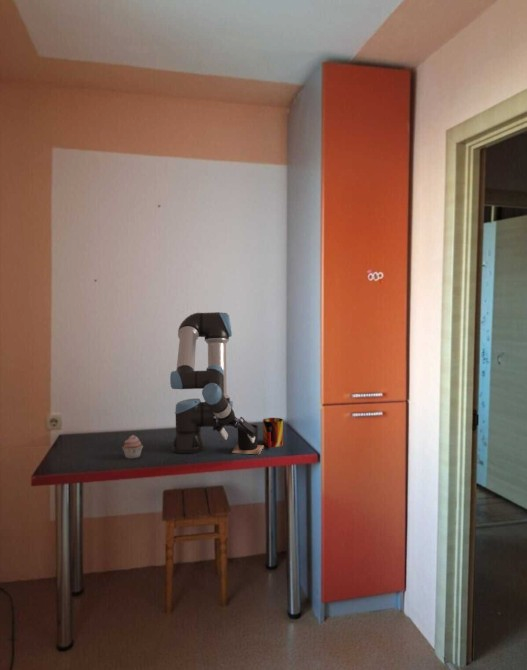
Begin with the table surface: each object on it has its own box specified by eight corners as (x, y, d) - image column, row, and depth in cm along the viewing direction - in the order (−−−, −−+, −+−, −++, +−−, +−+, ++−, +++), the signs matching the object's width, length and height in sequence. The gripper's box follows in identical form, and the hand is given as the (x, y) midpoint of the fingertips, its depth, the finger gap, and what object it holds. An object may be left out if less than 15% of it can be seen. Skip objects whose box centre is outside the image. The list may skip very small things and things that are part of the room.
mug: (268, 450, 234) (268, 424, 233) (260, 442, 247) (260, 418, 247) (288, 448, 237) (288, 423, 236) (279, 441, 250) (279, 417, 249)
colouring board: (232, 454, 228) (232, 451, 228) (238, 446, 240) (237, 443, 240) (259, 455, 226) (259, 452, 226) (263, 447, 238) (263, 444, 238)
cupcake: (126, 461, 219) (126, 438, 218) (119, 456, 226) (118, 434, 226) (147, 457, 224) (146, 435, 224) (138, 452, 232) (138, 431, 231)
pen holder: (255, 451, 227) (255, 429, 227) (235, 450, 229) (235, 428, 229) (259, 445, 237) (259, 424, 236) (240, 444, 238) (240, 423, 238)
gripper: (194, 416, 213) (212, 443, 228) (247, 421, 203) (263, 449, 217) (200, 402, 218) (218, 429, 232) (252, 406, 208) (267, 434, 222)
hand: (240, 438), depth 225 cm, fingers open, 13 cm apart
